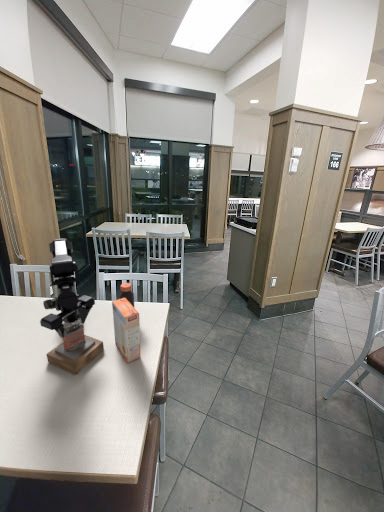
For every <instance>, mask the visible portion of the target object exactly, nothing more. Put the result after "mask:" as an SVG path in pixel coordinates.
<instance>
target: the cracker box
mask: <svg viewBox="0 0 384 512" xmlns="http://www.w3.org/2000/svg"><path fill="white" fill-rule="evenodd" d="M111 305H112V317H113V331H114V341H115V345H116V346H117V348H118V350H119V351H120V354H121V355H122V357H123V358H124V360H125V361H126V363H127V364H128V363H131V362H133V361H135V360H137V359H139V358H141V335H140V334H141V331H140V313H139V311H138V310H137V309H136V308H135V306H134V307H133V306H132V305H131V304H130V302H129V301H128V300H127V299H126V298H122V299H119V298H118V299H115V300H112V301H111Z"/></svg>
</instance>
